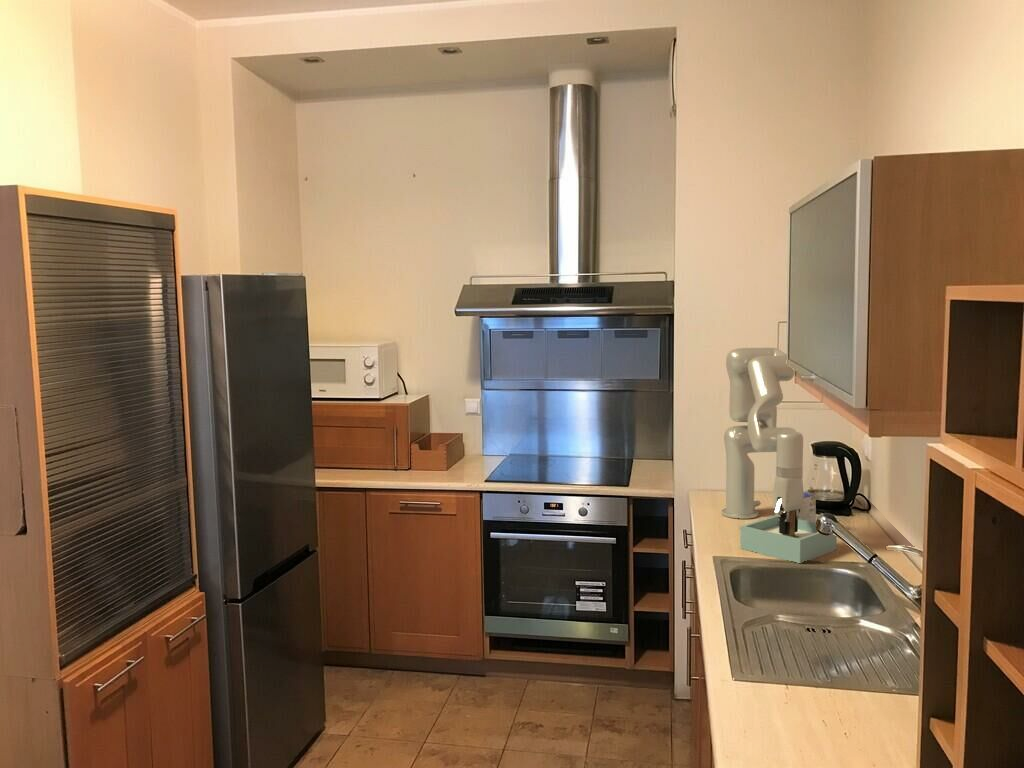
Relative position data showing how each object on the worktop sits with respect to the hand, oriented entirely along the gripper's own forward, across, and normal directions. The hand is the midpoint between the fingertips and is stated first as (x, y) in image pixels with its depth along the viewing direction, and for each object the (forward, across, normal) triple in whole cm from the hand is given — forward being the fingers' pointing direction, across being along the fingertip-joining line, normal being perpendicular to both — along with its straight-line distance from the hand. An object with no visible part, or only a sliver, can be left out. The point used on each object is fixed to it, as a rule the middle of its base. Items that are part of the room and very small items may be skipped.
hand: (788, 531), depth 250 cm
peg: (+4, 0, 0) cm, 4 cm away
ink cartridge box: (+6, -20, -8) cm, 22 cm away
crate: (+5, 0, 0) cm, 5 cm away
